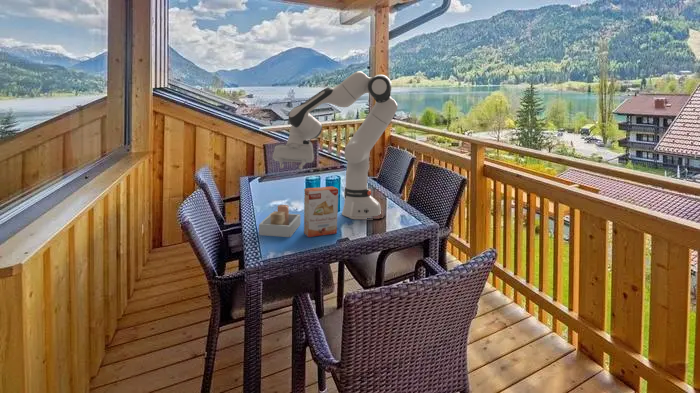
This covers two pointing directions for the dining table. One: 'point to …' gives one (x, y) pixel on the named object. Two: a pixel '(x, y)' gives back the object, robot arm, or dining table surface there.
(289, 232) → the tote
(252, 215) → the dining table surface
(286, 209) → the brown rounded cylinder
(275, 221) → the beech block
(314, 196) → the cracker box
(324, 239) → the dining table surface
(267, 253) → the dining table surface
